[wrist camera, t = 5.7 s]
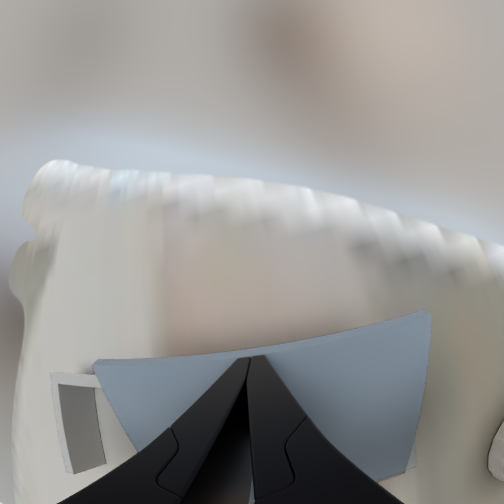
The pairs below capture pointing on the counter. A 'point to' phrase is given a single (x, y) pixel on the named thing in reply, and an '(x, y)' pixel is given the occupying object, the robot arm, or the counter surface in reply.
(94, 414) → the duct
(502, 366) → the counter surface
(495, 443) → the white cup
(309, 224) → the counter surface
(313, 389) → the panel
